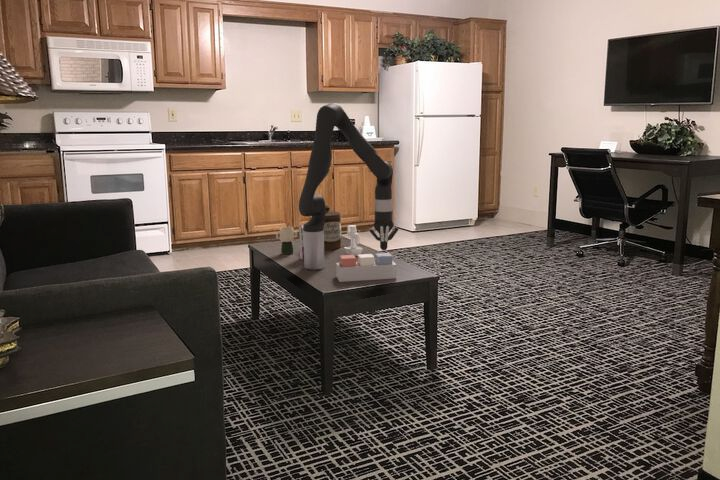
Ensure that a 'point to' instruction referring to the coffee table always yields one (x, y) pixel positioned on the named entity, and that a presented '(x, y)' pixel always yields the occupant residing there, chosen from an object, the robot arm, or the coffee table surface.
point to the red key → (347, 260)
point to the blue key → (383, 258)
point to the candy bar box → (301, 242)
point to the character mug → (286, 239)
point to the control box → (365, 272)
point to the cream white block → (365, 259)
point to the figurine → (353, 241)
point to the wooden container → (332, 229)
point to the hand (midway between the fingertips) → (383, 249)
